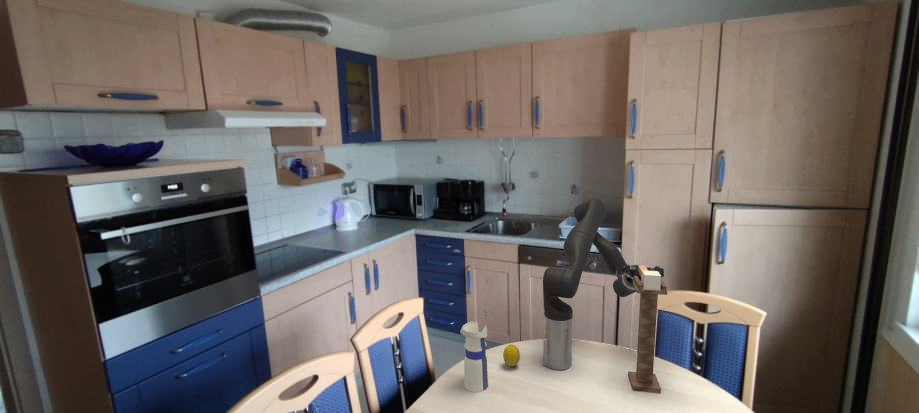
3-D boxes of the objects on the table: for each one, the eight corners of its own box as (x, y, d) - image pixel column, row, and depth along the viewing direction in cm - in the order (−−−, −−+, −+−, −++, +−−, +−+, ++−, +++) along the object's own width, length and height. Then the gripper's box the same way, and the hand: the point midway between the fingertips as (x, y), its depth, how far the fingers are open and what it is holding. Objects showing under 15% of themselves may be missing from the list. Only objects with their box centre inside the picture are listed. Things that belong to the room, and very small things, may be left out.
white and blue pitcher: (471, 373, 139) (470, 301, 135) (494, 381, 134) (493, 307, 130) (457, 386, 133) (454, 311, 128) (480, 395, 128) (478, 317, 123)
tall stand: (632, 390, 128) (637, 285, 122) (628, 375, 136) (632, 275, 130) (660, 393, 126) (667, 286, 120) (654, 378, 134) (661, 277, 128)
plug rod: (643, 289, 122) (644, 275, 122) (634, 270, 138) (634, 257, 137) (660, 290, 121) (661, 275, 121) (648, 271, 137) (649, 258, 136)
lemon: (519, 362, 145) (519, 340, 144) (520, 371, 140) (520, 348, 138) (503, 361, 146) (503, 340, 144) (503, 370, 140) (503, 348, 139)
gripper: (612, 266, 152) (619, 255, 137) (655, 268, 149) (666, 257, 134) (613, 287, 150) (619, 279, 135) (657, 289, 146) (668, 281, 132)
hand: (643, 268), depth 134 cm, fingers open, 8 cm apart
